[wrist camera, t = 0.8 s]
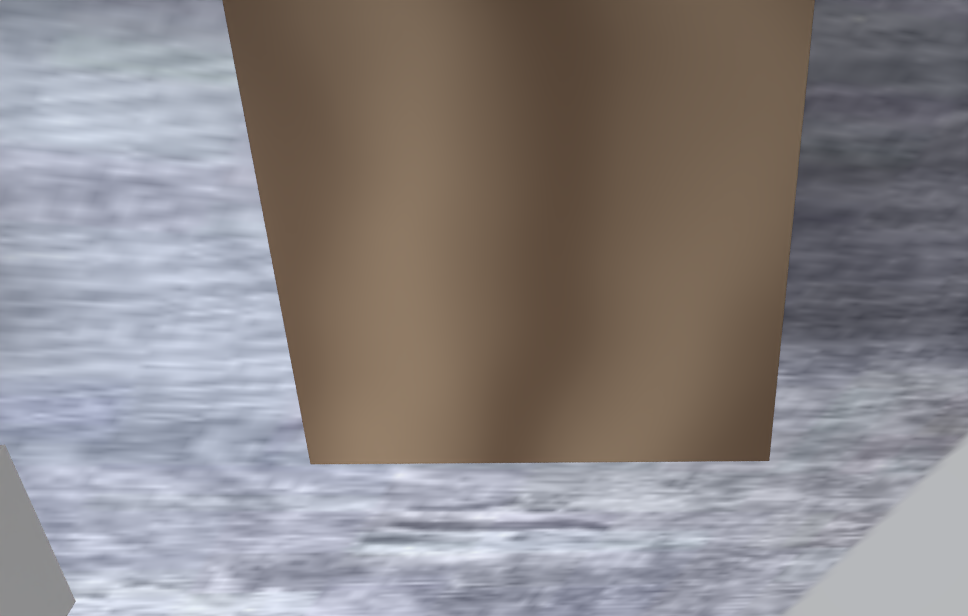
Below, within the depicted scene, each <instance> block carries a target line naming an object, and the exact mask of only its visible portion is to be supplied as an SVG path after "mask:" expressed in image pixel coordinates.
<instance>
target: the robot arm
mask: <svg viewBox="0 0 968 616" xmlns="http://www.w3.org/2000/svg"><path fill="white" fill-rule="evenodd" d="M75 602H76V601H75V599H74V597H73V594H72V592H71V590H70V588H69V586H68V583H67V581H66V579H65V577H64V574H63V572H62V570H61V568H60V566H59V563H58V561H57V559H56V557H55V555H54V552H53V550H52V548H51V546H50V543H49V541H48V539H47V537H46V535H45V532H44V530H43V528H42V526H41V524H40V521H39V519H38V517H37V515H36V512H35V510H34V508H33V506H32V504H31V501H30V499H29V497H28V495H27V493H26V490H25V488H24V486H23V484H22V481H21V479H20V477H19V475H18V473H17V470H16V468H15V466H14V464H13V462H12V459H11V457H10V455H9V453H8V450H7V448H6V446H5V445H0V616H67V615H68V613H69V612H70V610H71V608H72V607H73V605H74V603H75Z"/></svg>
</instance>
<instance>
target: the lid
mask: <svg viewBox="0 0 968 616" xmlns="http://www.w3.org/2000/svg"><path fill="white" fill-rule="evenodd" d="M222 1H223V6H224V11H225V16H226V22H227V27H228V32H229V37H230V43H231V48H232V53H233V58H234V64H235V69H236V74H237V80H238V85H239V90H240V95H241V101H242V106H243V111H244V116H245V122H246V127H247V132H248V137H249V143H250V148H251V153H252V158H253V164H254V169H255V174H256V179H257V185H258V190H259V195H260V201H261V206H262V211H263V216H264V222H265V227H266V232H267V237H268V243H269V248H270V253H271V258H272V264H273V269H274V274H275V279H276V285H277V290H278V295H279V301H280V306H281V311H282V316H283V322H284V327H285V332H286V337H287V343H288V348H289V353H290V358H291V364H292V369H293V374H294V379H295V385H296V390H297V395H298V400H299V406H300V411H301V416H302V422H303V427H304V432H305V437H306V443H307V448H308V453H309V458H310V464H410V463H548V462H686V461H769V457H770V447H771V437H772V427H773V417H774V407H775V397H776V387H777V376H778V366H779V356H780V346H781V336H782V326H783V316H784V306H785V296H786V286H787V276H788V266H789V255H790V245H791V235H792V225H793V215H794V205H795V195H796V185H797V175H798V165H799V155H800V144H801V134H802V124H803V114H804V104H805V94H806V84H807V74H808V64H809V54H810V44H811V34H812V23H813V13H814V3H815V0H222Z"/></svg>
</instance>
